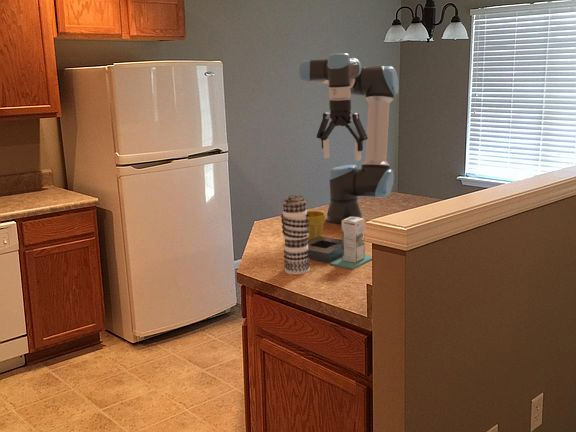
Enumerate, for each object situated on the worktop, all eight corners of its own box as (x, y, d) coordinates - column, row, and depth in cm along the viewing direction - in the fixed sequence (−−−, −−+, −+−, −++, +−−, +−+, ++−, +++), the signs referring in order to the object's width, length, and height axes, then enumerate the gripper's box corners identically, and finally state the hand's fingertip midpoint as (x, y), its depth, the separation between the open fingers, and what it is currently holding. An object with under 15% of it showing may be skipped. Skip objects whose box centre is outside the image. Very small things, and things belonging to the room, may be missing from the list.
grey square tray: (319, 244, 238) (319, 235, 237) (355, 251, 228) (354, 242, 227) (292, 255, 226) (292, 246, 225) (328, 263, 216) (328, 253, 215)
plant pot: (321, 242, 241) (320, 217, 239) (295, 241, 244) (294, 216, 242) (329, 235, 250) (328, 211, 248) (304, 233, 254) (303, 210, 252)
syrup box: (350, 256, 220) (349, 215, 217) (365, 258, 217) (364, 217, 213) (341, 260, 216) (340, 219, 212) (356, 263, 212) (355, 221, 209)
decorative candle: (293, 264, 217) (290, 192, 211) (316, 268, 212) (313, 194, 206) (278, 272, 210) (274, 198, 204) (301, 276, 204) (298, 200, 198)
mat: (353, 254, 225) (353, 252, 224) (375, 258, 219) (375, 256, 219) (330, 264, 214) (330, 263, 214) (352, 269, 209) (352, 267, 208)
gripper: (305, 99, 226) (308, 158, 232) (364, 100, 211) (366, 163, 216) (317, 97, 232) (320, 154, 237) (376, 98, 216) (377, 159, 222)
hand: (342, 159), depth 227 cm, fingers open, 13 cm apart
